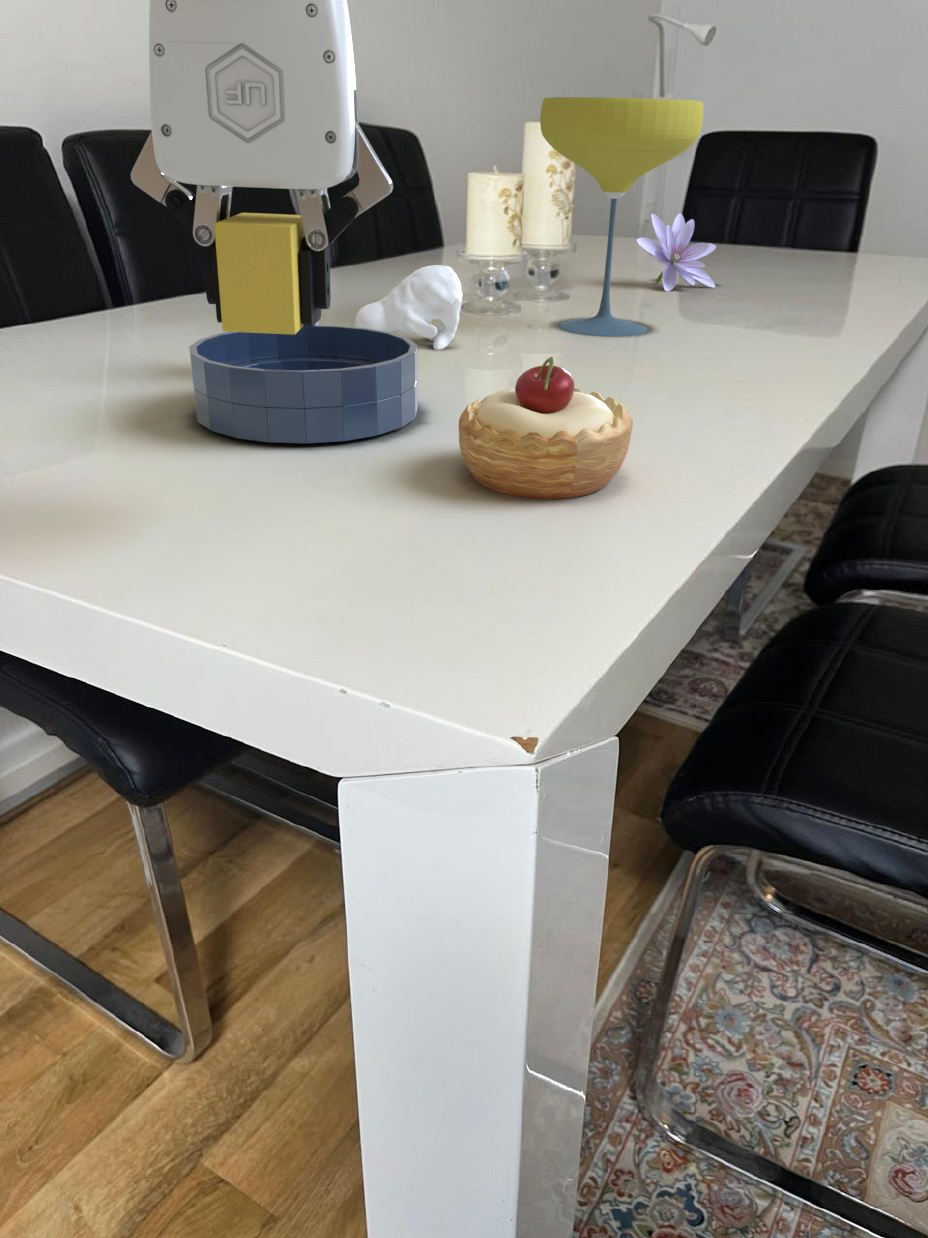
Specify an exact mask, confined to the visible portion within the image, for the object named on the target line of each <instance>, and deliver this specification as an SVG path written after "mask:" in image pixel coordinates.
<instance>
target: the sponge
mask: <svg viewBox="0 0 928 1238" xmlns="http://www.w3.org/2000/svg"><path fill="white" fill-rule="evenodd" d="M214 227H215V240H216V253H217V265H218V278H219V291H220V304H221V316H222V323H221V327H222V329H221V330H222V331H223V332H248V333H270V334H293V335H295V334H296V333H297V332H298V331H299V330H300V329H301V328H302V327H303V324H301V320H300V297H299V273H298V253H299V252H300V251H301V250H302V249H303V248H302V238H303V237H304V236H305V234H304V229H303V225H302V220H301V216H300V214H282V213H261V212H260V213H259V212H240V213H238V214H235V215H233V216H229V218H227V219H224V220H222V221H219V222H216V223H214Z"/></svg>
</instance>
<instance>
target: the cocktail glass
mask: <svg viewBox="0 0 928 1238" xmlns="http://www.w3.org/2000/svg"><path fill="white" fill-rule="evenodd" d="M703 121H704V103H703V101H702V100H693V99H677V98H676V99H675V98H674V99H673V98H648V97H647V98H645V97H599V96H598V97H593V96H592V97H591V96H588V97H587V96H586V97H585V96H583V97H581V96H579V97H578V96H577V97H575V96H574V97H571V96H570V97H569V96H566V97H564V96H563V97H562V96H561V97H560V96H559V97H544V98H543V100H542V102H541V107H540V118H539V122H540V132H541V134H542V137H543V138H544V140H545V141H546V142H547V143H548V144H549V146H551V147H552V149H554V150H555V151H556V152H557V153H558V154H560V155H561V156H563V157H564V158H566V159H567V160H569V161H570V162H571V163H573V164H575V165H576V166H578V167H579V168H581V169H583V170H584V171H585V172H587V174H589V175H590V176H592V177H593V179H595V181H596V182H597V184H598V185H599V187H600V189H601V191H602V192H603V194H604V195H605V197H606V198H608V199H610V211H609V223H608V234H607V235H608V237H607V245H606V256H605V267H604V277H603V286H602V292H601V293H602V294H601V299H600V304H599V308H598V311H597V313H596V315H595V316H592V317H589V318H580V319H571V320H567V321H563V322H561V323H559V325H558V326H559V328H560V329H561V330H563V331H566V332H569V333H573V334H579V335H583V336H584V335H585V336H597V337H629V336H630V337H631V336H637V335H641V334H642V335H643V334H645V333H647V332H648V328H647V327H646V326H644V325H642V324H640V323H636V322H632V321H629V320H623V319H618V318H617V317H616V318H615V317H614V316H613V315H612V313H611V302H610V301H611V300H610V296H611V295H610V293H611V292H610V289H611V275H612V274H611V273H612V259H613V246H614V233H615V222H616V212H617V211H616V210H617V201H618V199H621V198H623V196H625V195H626V193H627V192H628V191H629V190H630V188H631V187H632V185H633V184H634V183H635V182H636V181H637V180H638V179H640V178H641V177H642V176H644V175H646V174H647V173H649V172H651V171H652V170H654V169H656V168H658V167H660V166H662V165H664V164H666V163H667V162H670V161H671V160H673V159H675V158H676V157H678V156H680V155H681V154H683V153H684V152H685V151H687V150H688V149H689V148H690V147H692V145H693V144H694V143H696V141H697V140H698V138H699V137H700V135H701V132H702V127H703V123H704V122H703Z"/></svg>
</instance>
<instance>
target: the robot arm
mask: <svg viewBox="0 0 928 1238" xmlns="http://www.w3.org/2000/svg"><path fill="white" fill-rule="evenodd" d="M148 11H149V18H148V19H149V21H148V58H149V59H148V64H149V65H148V66H149V68H148V69H149V103H150V105H149V106H150V120H151V121H150V123H151V124H150V125H151V131H150V132H149V135H148V137H147V139H146V141H145V143H144V145H143V146H142V149H141V151H140V153H139V155H138V156H137V159H136V161H135V163H134V165H133V167H132V169H131V171H130V180H131V181H132V183H133V185H134V186H136V187H137V188H138V189H140V190H141V191H143V192H144V193H146V195H148V196H150V198H152V199H154V200H155V201H157V202H158V203H159V204H162V205H163V206H165V207H166V208H167V209H168V211H169V212H170V213H171V214H172V215H173V216H174V217H175V218H176V219H177V220H178V222H179V223H181V224H182V225H183V226H184V228H186V229H187V231H189V232H190V234H192V236H193V240H194V241H195V243H197V244H198V245H199V246H201V248H202V259H203V272H204V283H205V295H206V301H207V303H208V305H215V315H216V321H217V323H220V324H222V316H221V304H220V291H219V278H218V265H217V253H216V240H215V227H214V223H216V222H219V221H222V220H224V219H227V218H230V217H231V216H230V215H231V206H232V195H233V188H235V187H236V188H255V189H256V188H259V189H261V188H262V189H281V190H282V189H284V190H294V192H295V196H296V197H295V198H296V201H297V206H298V210H299V215H300V216H301V220H302V225H303V229H304V234H305V236H304V237H303V238H302V248H303V249H302V250H301V251H300V252H299V253H298V273H299V297H300V320H301V324H303V326H309V327H313V326H314V325H315V324H316V323H317V322H318V323H319V321H320V320H321V318H322V310H329V309H330V308H331V299H332V298H331V297H332V296H331V263H330V246H331V245H332V244H333V243H334V241H335V240H336V239H337V238H338V237H339V236H340V235H341V234H342V233H343V232H344V231H345V230H346V229H347V227H348V226H349V225H350V224H351V223H352V222H353V221H354V220H355V219H356V218H357V217H359V216H360V215H361V214H362V213H365V212H366V211H367V210H368V209H370V208H372V207H373V206H375V205H376V204H377V203H379V202H381V201H382V200H384V199H385V198H386V197H388V196H389V195H390V194H392V192H393V189H394V183H393V180H392V179H391V177H390V175H389V173H388V171H387V170H386V168H385V167H384V165H383V163H382V161H381V160H380V158H379V156H378V154H377V153H376V151H375V150H374V148H373V146H372V144H371V143H370V141H369V139H368V138H367V136H366V134H365V133H364V130H363V129H362V128H361V125H360V123H359V111H358V95H357V94H358V93H357V83H356V82H357V81H356V68H355V67H356V66H355V56H354V46H353V36H352V28H351V23H350V22H351V19H350V13H349V6H348V0H149V10H148ZM356 173H357V175H358V178H359V180H358V183H357V186H355V188H352V190H350V191H349V192H347V193H346V194H345V195H343V196H341V197H340V198H339V199H337V200H336V201H335V202H334V203H333V204H332V206H331V203H330V198H329V192H328V189H329V188H332V187H335V186H337V185H339V184H340V183H344V182H346V181H348V180H350V179H351V178H353V177H354V176H355V175H356ZM181 183H182V184H187V185H196V193H194V192H193V191H192V190H191V189H189V188H186V187H184V186H183V185H182V184H181Z"/></svg>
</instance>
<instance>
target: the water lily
mask: <svg viewBox="0 0 928 1238" xmlns="http://www.w3.org/2000/svg"><path fill="white" fill-rule="evenodd" d="M650 217H651V218H650V219H651V223H652V229H653V232H654V235H655V237H656V239H657V242H658V243H657V242H656V241H654V240H653V239H650V238H649V237H639V238H637V239H636V243H637V244H638V245H639V246H640V248H641V249H642V250H643V251H644V252H645V253H646V254H648V255H650V256H651V257H653V259H656V260H657V261H658V262H659V263H661V264H663V265H664V267H663V269H662V271H661V272H660V273H659V275H658V276H657V278H656V279H655V283H657V284H658V283H660V282H662V283H661V284H662V287H663V289H664V291H665V292H671V291H672V290H673V289H674V288H675V287H676V285H677V282H678V281H677V280H678V276H679V277H680V278H681V279H682V280H683V281H684V282H686V283H687V284H690V285H691V286H695V284H696V282H697V283H699V284H701V285H703V286H706V287H710V288H712V289H713V288H716V285H715V282H714V281H713V279H712V277H710V275H709V274H708V273H707V272H706V271H705V270H704V269H702V268H705V267H706V264H705V263H704V262H702V261H699V260H698V259H701V258H704V257H706V256H708V255H710V254H711V253H713V252H714V251H715V250H716V248H717V245H715V244H713V243H710V242H708V243H707V242H698V243H694V244H689V243H690V241H691V239H692V236H693V235H694V232H695V225H696V224H695V220H694V219H693V218H691V219H689V220H688V221H686V220H685V218H684V215H683V214H682V213H681V212H680V213H678V214H677V215H676V217H674V220H673V222H672V227H671V226H670V225H669V224H667V225H665V223H664V221H662V219H661V218H660V217H659V216H658V215H656V214H655V213H651V216H650Z"/></svg>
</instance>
